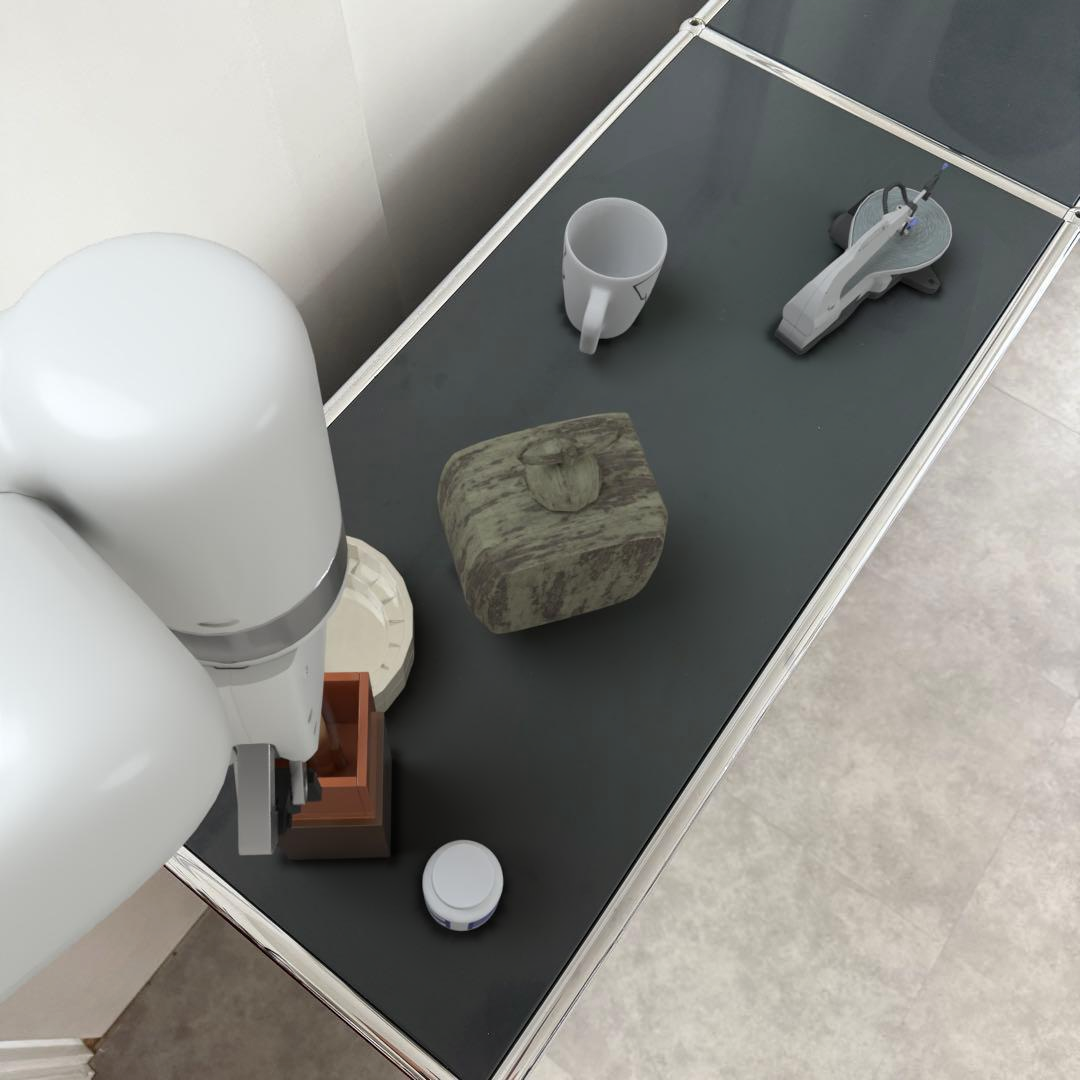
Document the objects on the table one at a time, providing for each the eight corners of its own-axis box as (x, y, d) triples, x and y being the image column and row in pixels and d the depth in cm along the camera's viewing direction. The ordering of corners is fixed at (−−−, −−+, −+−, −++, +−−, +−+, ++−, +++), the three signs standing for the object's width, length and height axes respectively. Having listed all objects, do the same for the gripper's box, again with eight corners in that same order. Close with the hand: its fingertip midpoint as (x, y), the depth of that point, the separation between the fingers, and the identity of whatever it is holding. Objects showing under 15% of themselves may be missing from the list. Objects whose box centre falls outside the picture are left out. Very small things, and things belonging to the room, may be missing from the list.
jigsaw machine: (877, 316, 88) (768, 230, 90) (833, 387, 97) (736, 307, 100) (1016, 188, 95) (911, 111, 97) (962, 266, 104) (868, 194, 107)
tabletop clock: (608, 514, 90) (665, 340, 68) (644, 614, 87) (718, 466, 64) (436, 557, 87) (436, 390, 65) (468, 662, 84) (479, 525, 61)
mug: (627, 389, 95) (647, 321, 86) (533, 363, 96) (543, 293, 87) (655, 286, 100) (677, 212, 91) (566, 262, 100) (579, 185, 91)
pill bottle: (499, 853, 79) (506, 832, 70) (498, 931, 76) (505, 919, 68) (424, 852, 78) (423, 831, 70) (421, 931, 76) (419, 918, 68)
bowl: (217, 743, 80) (201, 721, 75) (231, 563, 86) (217, 531, 80) (413, 739, 81) (412, 718, 76) (414, 562, 87) (413, 530, 82)
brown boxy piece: (289, 860, 77) (236, 796, 57) (294, 760, 80) (245, 666, 59) (390, 857, 78) (373, 793, 57) (391, 758, 81) (376, 664, 60)
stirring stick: (345, 777, 66) (310, 679, 48) (304, 779, 66) (254, 681, 48) (345, 750, 67) (311, 645, 49) (305, 752, 67) (256, 646, 49)
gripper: (143, 327, 40) (225, 527, 55) (81, 813, 33) (195, 885, 48) (353, 331, 40) (376, 526, 56) (337, 807, 33) (368, 879, 49)
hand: (292, 692), depth 52 cm, fingers open, 9 cm apart
